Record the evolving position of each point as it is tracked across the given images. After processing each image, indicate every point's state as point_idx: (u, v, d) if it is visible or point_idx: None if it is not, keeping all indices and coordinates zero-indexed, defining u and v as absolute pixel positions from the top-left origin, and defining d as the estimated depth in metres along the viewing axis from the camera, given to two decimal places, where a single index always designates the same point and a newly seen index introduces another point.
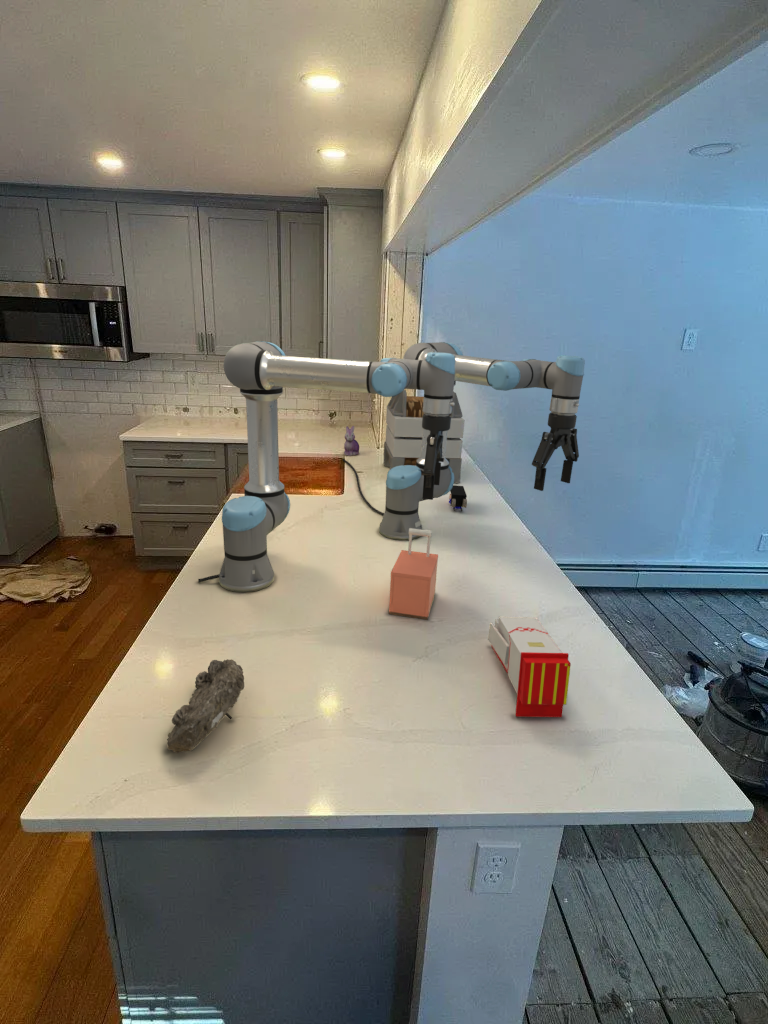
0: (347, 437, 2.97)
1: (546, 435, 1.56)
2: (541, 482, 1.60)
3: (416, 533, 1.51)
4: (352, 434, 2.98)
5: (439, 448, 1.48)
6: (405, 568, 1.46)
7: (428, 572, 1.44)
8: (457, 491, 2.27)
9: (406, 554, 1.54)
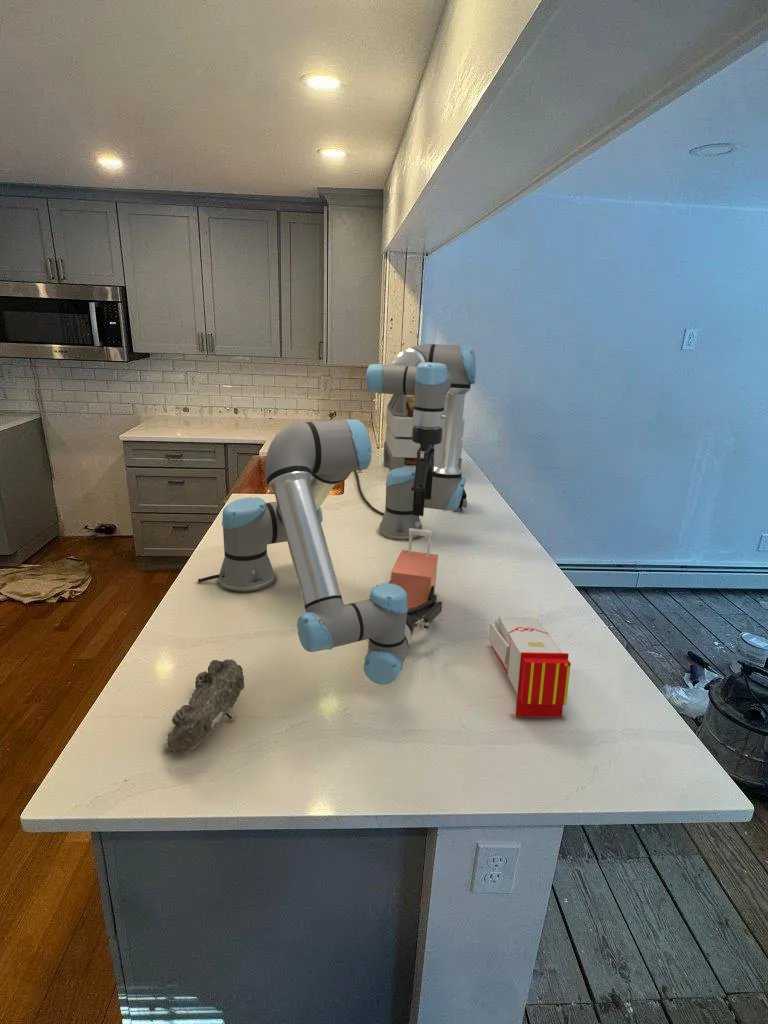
0: None
1: (422, 454, 1.37)
2: (421, 507, 1.41)
3: (416, 533, 1.51)
4: None
5: None
6: (405, 568, 1.46)
7: (428, 572, 1.44)
8: None
9: (406, 554, 1.54)
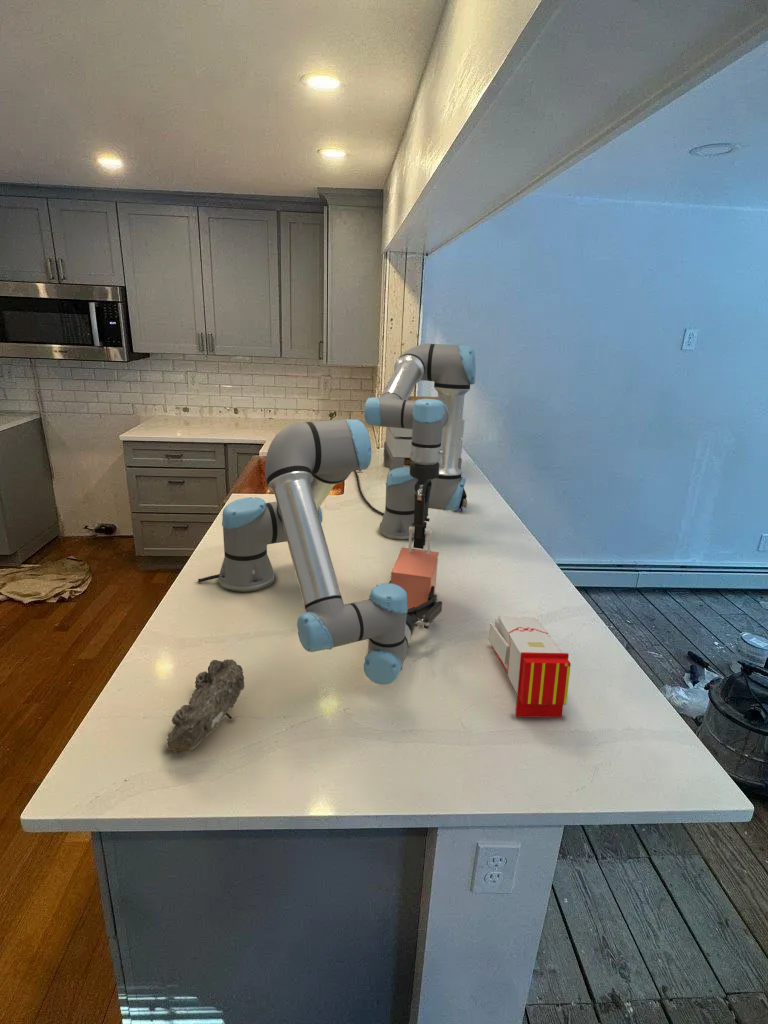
0: None
1: (419, 497, 1.41)
2: (422, 540, 1.50)
3: None
4: None
5: None
6: (405, 567, 1.45)
7: (428, 571, 1.44)
8: None
9: (406, 552, 1.54)
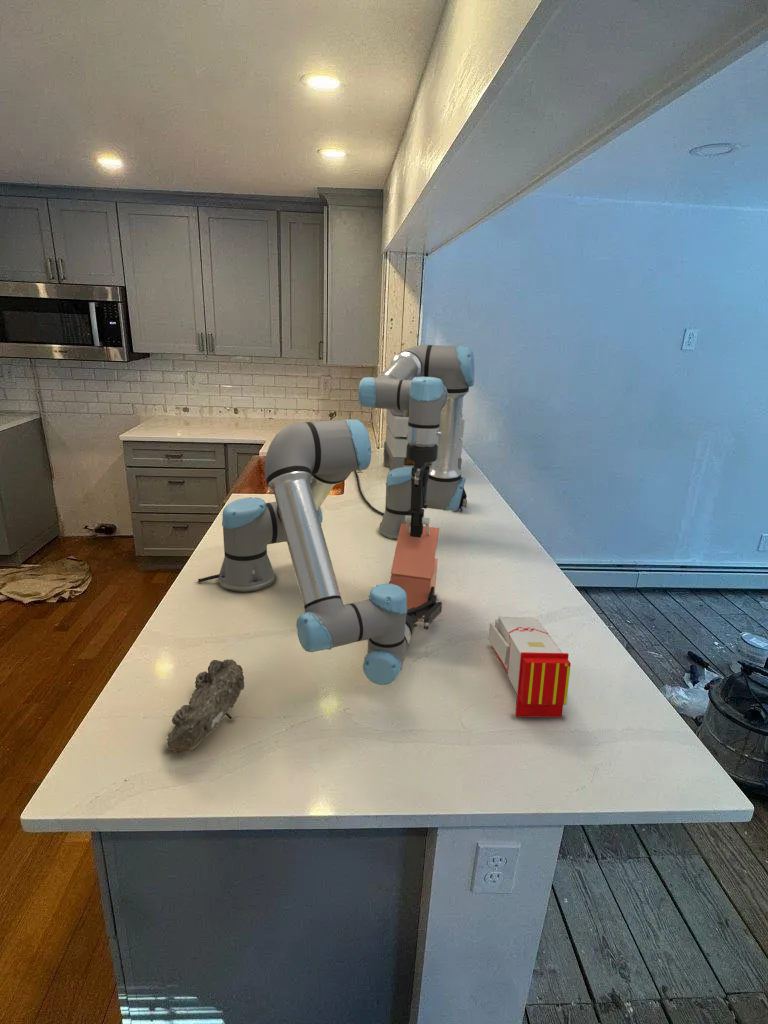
0: None
1: (416, 481, 1.33)
2: (419, 528, 1.41)
3: None
4: None
5: None
6: (405, 563, 1.44)
7: (428, 568, 1.42)
8: None
9: (406, 532, 1.48)
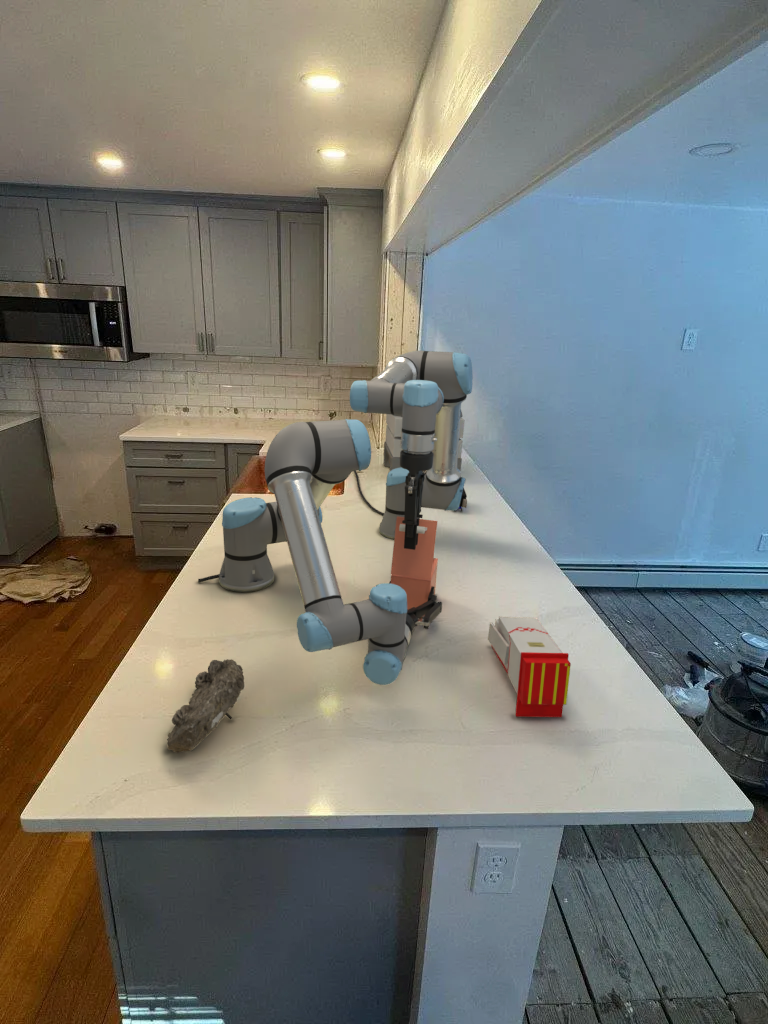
0: None
1: (410, 491, 1.25)
2: (413, 540, 1.34)
3: None
4: None
5: None
6: (404, 563, 1.42)
7: (427, 568, 1.41)
8: None
9: None
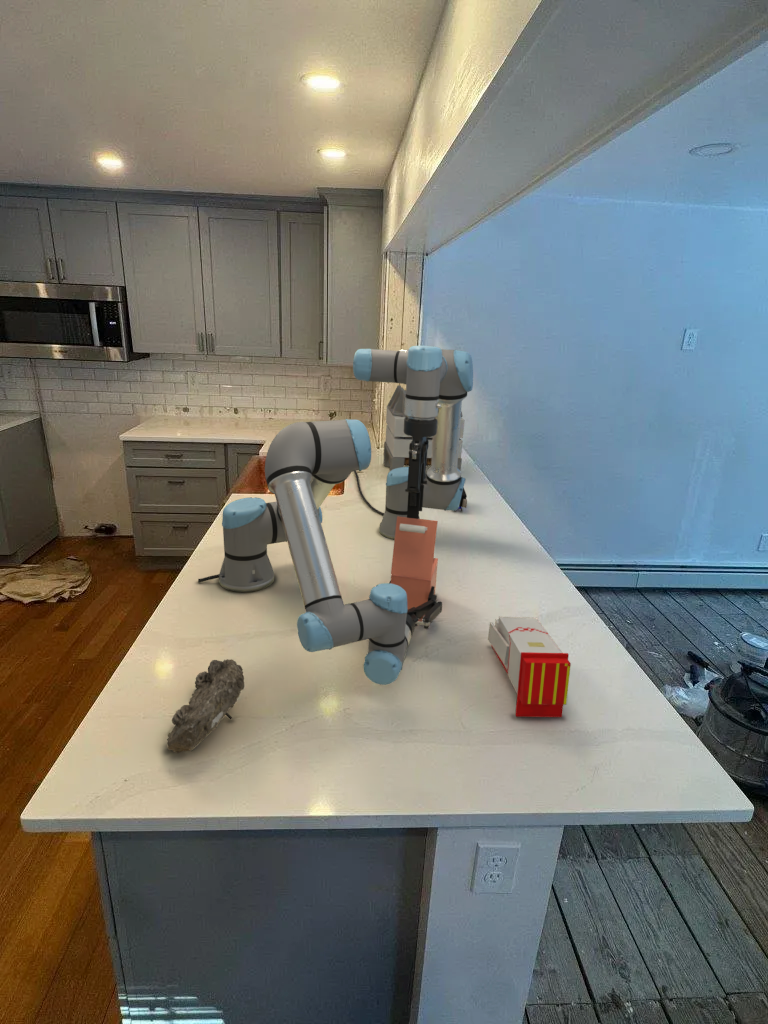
0: None
1: (414, 455, 1.24)
2: (416, 509, 1.32)
3: (408, 531, 1.35)
4: None
5: None
6: (404, 563, 1.42)
7: (428, 567, 1.41)
8: None
9: None
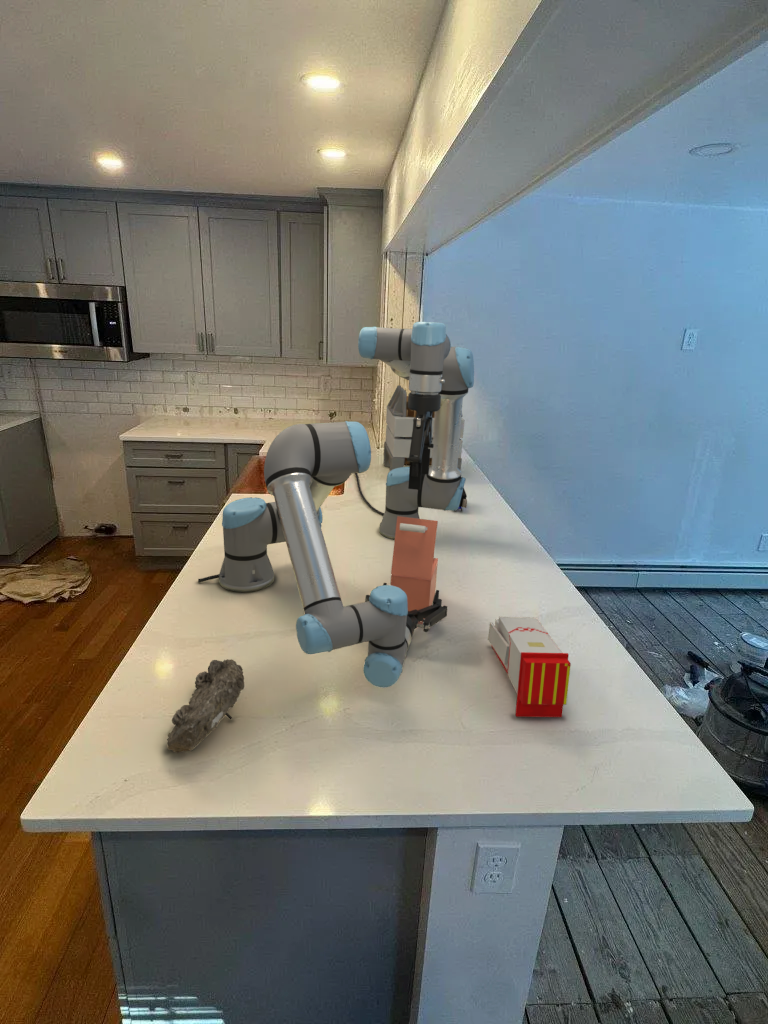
0: None
1: (419, 421, 1.26)
2: (418, 479, 1.30)
3: (408, 531, 1.35)
4: None
5: None
6: (404, 563, 1.42)
7: (428, 567, 1.41)
8: None
9: None
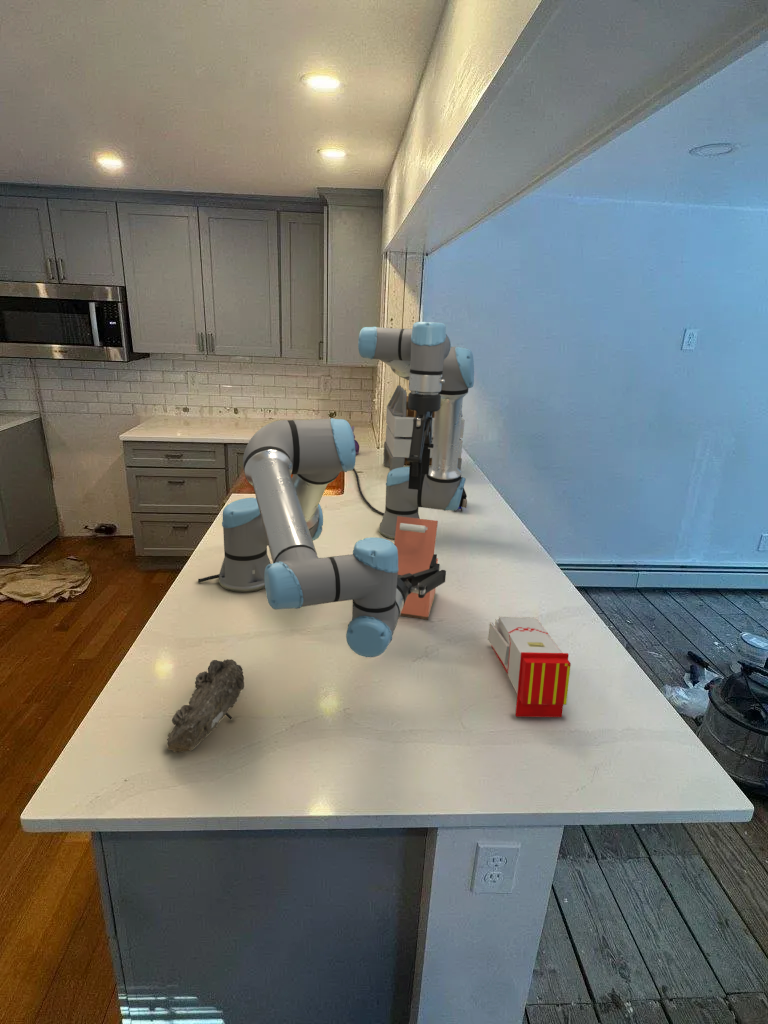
0: None
1: (419, 421, 1.26)
2: (418, 479, 1.30)
3: (408, 530, 1.35)
4: None
5: None
6: (404, 563, 1.42)
7: (428, 567, 1.41)
8: None
9: None
